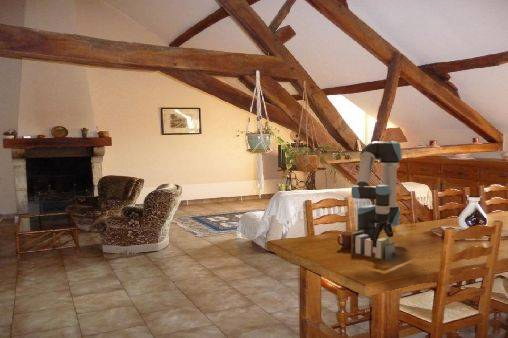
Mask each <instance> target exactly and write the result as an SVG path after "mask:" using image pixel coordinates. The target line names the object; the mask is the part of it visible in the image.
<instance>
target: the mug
mask: <svg viewBox="0 0 508 338" xmlns="http://www.w3.org/2000/svg"><path fill="white" fill-rule="evenodd" d="M351 233H354V231H353V232H352V231H342V232H340V235H338V236H337V239H336V240H337V244H338V245H339V246H340V247H341V249H344V250H351ZM340 238H341V239H340ZM340 240H341V242H340Z"/></svg>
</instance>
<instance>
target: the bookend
mask: <svg viewBox="0 0 508 338" xmlns="http://www.w3.org/2000/svg"><path fill="white" fill-rule="evenodd" d="M395 245H396V244H395V243H394V242H391V244H388V245H385V260H388V261H387V262H389V261H391V262H393V261H395V259H396V260H398V259H400V258H399V257H396V256H394V254H395V250H396V247H395Z"/></svg>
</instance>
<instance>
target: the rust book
mask: <svg viewBox="0 0 508 338" xmlns="http://www.w3.org/2000/svg"><path fill="white" fill-rule="evenodd" d="M364 255H365V256H364V257H366V256H369V257H368V258H371V257H372V256H375V253H373V241H371V240H370V238H369V239H365V240H364Z"/></svg>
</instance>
